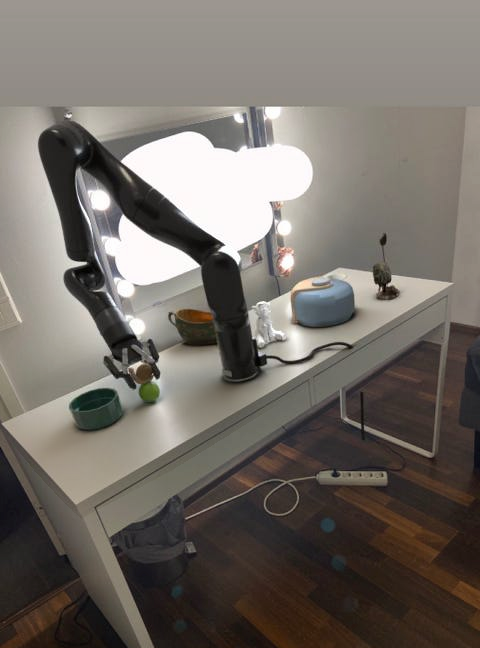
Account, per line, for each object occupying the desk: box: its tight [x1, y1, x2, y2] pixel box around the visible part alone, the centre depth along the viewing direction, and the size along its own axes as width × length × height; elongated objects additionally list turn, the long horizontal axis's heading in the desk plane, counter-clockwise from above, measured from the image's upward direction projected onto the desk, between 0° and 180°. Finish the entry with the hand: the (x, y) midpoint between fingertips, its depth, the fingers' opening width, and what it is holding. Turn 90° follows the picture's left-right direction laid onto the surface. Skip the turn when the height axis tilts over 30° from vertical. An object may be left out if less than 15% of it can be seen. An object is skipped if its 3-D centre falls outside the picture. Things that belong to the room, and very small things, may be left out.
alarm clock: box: [289, 275, 356, 328], centre depth 157 cm, size 19×20×12 cm
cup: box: [167, 308, 218, 346], centre depth 158 cm, size 13×20×10 cm, turn 41°
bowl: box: [68, 387, 124, 431], centre depth 124 cm, size 12×12×6 cm
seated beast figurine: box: [250, 301, 287, 349], centre depth 148 cm, size 10×9×12 cm
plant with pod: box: [371, 232, 400, 300], centre depth 161 cm, size 8×11×20 cm
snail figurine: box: [126, 363, 161, 403], centre depth 126 cm, size 5×6×12 cm
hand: (146, 382), depth 124 cm, fingers closed on snail figurine, 6 cm apart
